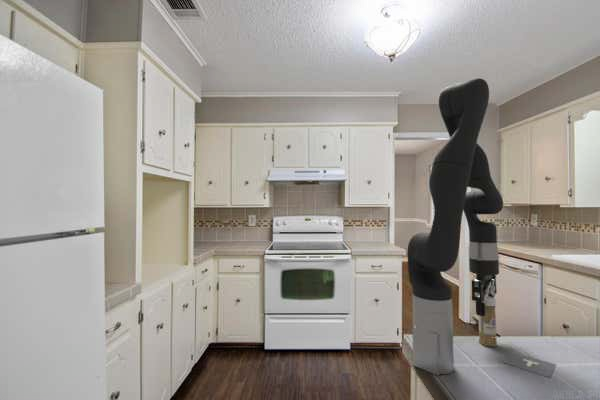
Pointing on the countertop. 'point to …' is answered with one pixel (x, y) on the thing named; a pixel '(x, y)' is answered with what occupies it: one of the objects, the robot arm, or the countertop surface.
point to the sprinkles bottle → (488, 323)
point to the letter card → (530, 364)
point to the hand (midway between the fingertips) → (485, 312)
